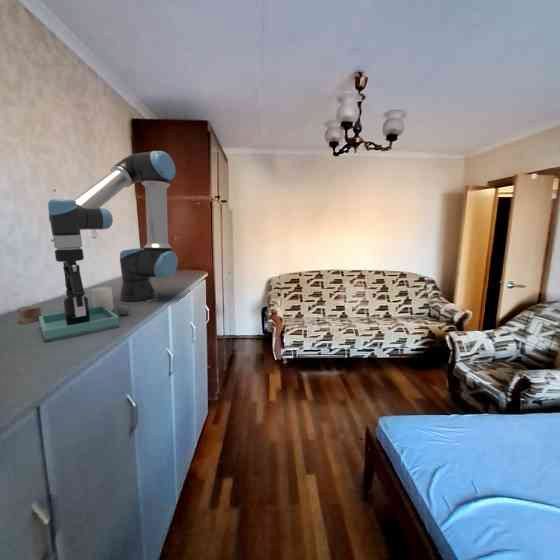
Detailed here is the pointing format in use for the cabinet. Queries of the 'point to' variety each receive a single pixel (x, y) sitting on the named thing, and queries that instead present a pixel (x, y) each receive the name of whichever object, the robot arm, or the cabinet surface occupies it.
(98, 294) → the cream round piece
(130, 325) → the cabinet surface
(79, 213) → the robot arm
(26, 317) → the walnut block
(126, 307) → the grey egg
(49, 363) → the cabinet surface
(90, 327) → the tray
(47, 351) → the cabinet surface
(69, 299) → the supplement bottle
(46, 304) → the cabinet surface
